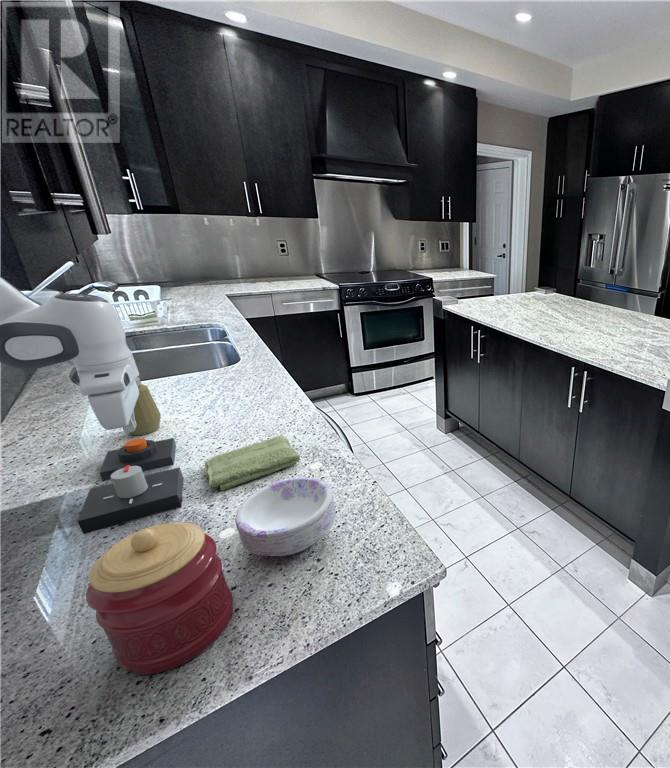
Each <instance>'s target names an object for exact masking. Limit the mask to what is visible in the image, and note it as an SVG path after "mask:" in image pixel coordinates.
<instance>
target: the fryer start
mask: <svg viewBox="0 0 670 768" xmlns="http://www.w3.org/2000/svg"><path fill="white" fill-rule="evenodd" d="M146 440H147V439H145V438H143V437H138V438H132V439H129V440H128V441H126V442H124V444H123V446H125V448H126V451H127V452H136V451H140V450H142V449H145V448H146V447H147V443H146Z"/></svg>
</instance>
